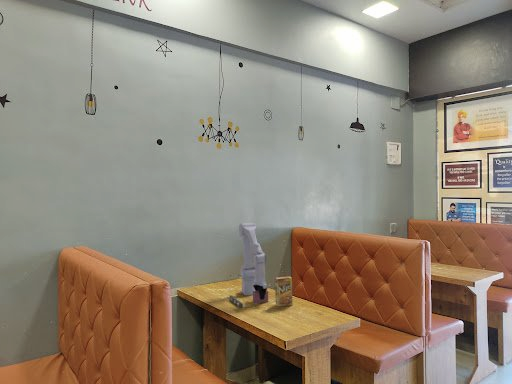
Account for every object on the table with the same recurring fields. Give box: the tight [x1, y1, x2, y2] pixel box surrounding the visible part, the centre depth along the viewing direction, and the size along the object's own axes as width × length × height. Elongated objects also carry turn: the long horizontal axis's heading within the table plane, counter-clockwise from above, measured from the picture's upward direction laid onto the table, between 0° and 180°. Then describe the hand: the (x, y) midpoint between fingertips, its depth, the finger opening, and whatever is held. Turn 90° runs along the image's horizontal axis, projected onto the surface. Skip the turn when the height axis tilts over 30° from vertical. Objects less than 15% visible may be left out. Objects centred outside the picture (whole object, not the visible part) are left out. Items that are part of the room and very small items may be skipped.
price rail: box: [229, 295, 244, 309], centre depth 205 cm, size 18×2×2 cm, turn 24°
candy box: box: [274, 275, 294, 307], centre depth 200 cm, size 9×4×15 cm, turn 107°
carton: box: [252, 289, 269, 304], centre depth 208 cm, size 4×8×6 cm, turn 114°
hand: (260, 298), depth 208 cm, fingers closed on carton, 4 cm apart
